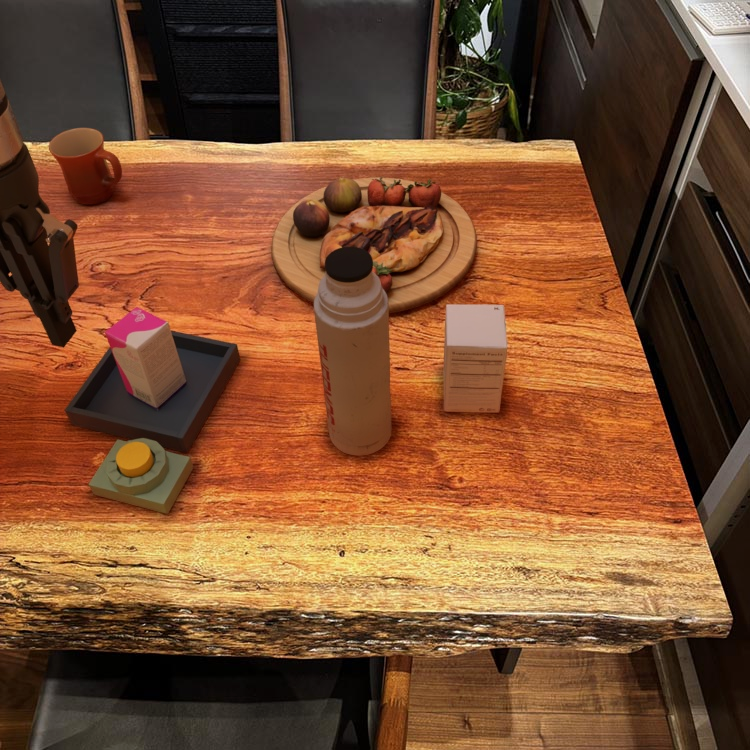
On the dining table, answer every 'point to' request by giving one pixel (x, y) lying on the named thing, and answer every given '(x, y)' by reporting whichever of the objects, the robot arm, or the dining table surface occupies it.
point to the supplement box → (146, 357)
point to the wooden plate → (378, 237)
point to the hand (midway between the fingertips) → (64, 337)
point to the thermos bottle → (354, 352)
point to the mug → (86, 164)
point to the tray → (178, 416)
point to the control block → (143, 478)
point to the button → (134, 459)
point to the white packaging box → (474, 357)
